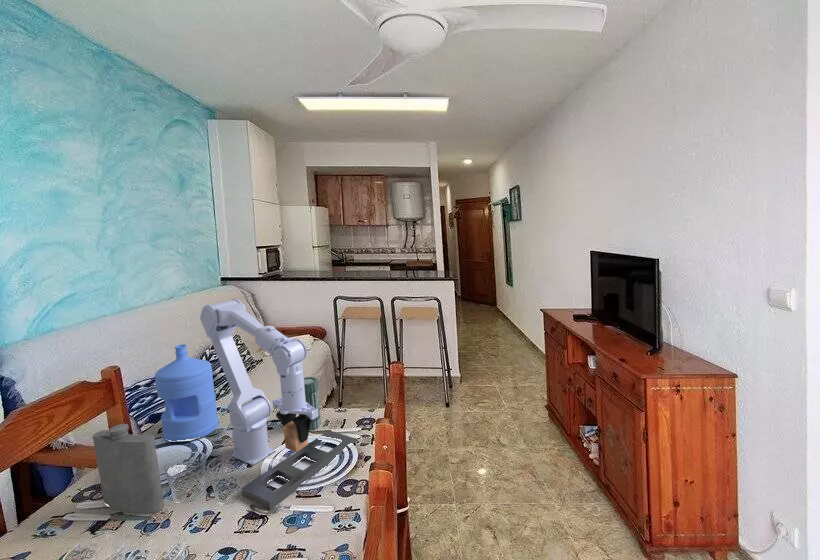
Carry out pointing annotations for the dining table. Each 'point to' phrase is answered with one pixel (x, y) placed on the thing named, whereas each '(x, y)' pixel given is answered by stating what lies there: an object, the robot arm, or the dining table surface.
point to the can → (312, 399)
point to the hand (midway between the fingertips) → (297, 438)
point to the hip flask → (128, 470)
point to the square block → (292, 437)
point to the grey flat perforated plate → (293, 472)
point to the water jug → (187, 397)
